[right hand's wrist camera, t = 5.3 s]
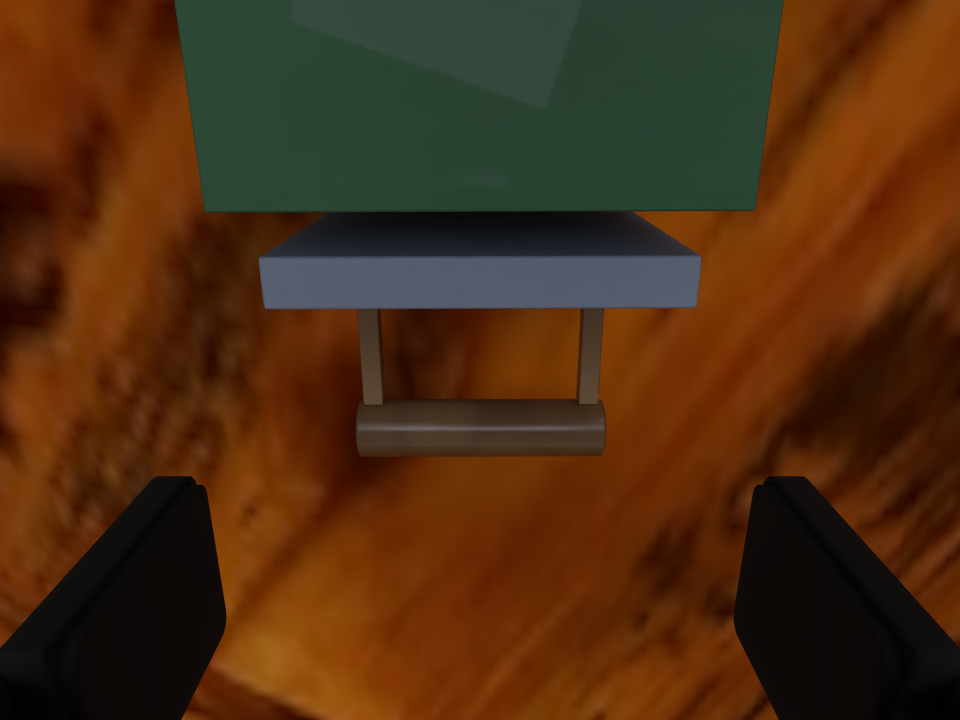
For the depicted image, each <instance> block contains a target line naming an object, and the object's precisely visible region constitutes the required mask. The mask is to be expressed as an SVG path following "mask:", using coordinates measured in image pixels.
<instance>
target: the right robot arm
mask: <svg viewBox="0 0 960 720" xmlns="http://www.w3.org/2000/svg"><path fill="white" fill-rule="evenodd" d="M225 626H226V607H225V601H224V595H223V589H222V583H221V576H220V570H219V564H218V558H217V552H216V546H215V540H214V533H213V527H212V521H211V515H210V509H209V503H208V496H207V492H206V489H205V487H204V486H203V485H197V484H196V482H195V480H194V478H192V477H191V476H159V477H155V478H154V479H152V480H151V481H150V482H149V484H148V485H147V486H146V487H145V488H144V489H143V490H142V491H141V492H140V494H139V495H138V496H137V497H136V498H135V499H134V500H133V501H132V502H131V504H130V505H129V506H128V507H127V508H126V509H125V510H124V511H123V512H122V514H121V515H120V516H119V517H118V518H117V519H116V520H115V521H114V522H113V524H112V525H111V526H110V527H109V528H108V529H107V530H106V531H105V532H104V534H103V535H102V536H101V537H100V538H99V539H98V540H97V541H96V542H95V544H94V545H93V546H92V547H91V548H90V549H89V550H88V551H87V552H86V554H85V555H84V556H83V557H82V558H81V559H80V560H79V561H78V562H77V564H76V565H75V566H74V567H73V568H72V569H71V570H70V571H69V572H68V574H67V575H66V576H65V577H64V578H63V579H62V580H61V581H60V582H59V584H58V585H57V586H56V587H55V588H54V589H53V590H52V591H51V592H50V594H49V595H48V596H47V597H46V598H45V599H44V600H43V601H42V602H41V604H40V605H39V606H38V607H37V608H36V609H35V610H34V611H33V612H32V614H31V615H30V616H29V617H28V618H27V619H26V620H25V621H24V623H23V624H22V625H21V626H20V627H19V628H18V629H17V630H16V631H15V633H14V634H13V635H12V636H11V637H10V638H9V639H8V640H7V641H6V643H5V644H4V645H3V646H2V647H1V648H0V720H181V719H182V717H183V715H184V713H185V711H186V709H187V707H188V705H189V703H190V701H191V699H192V697H193V695H194V693H195V691H196V689H197V687H198V685H199V683H200V681H201V679H202V677H203V675H204V672H205V670H206V668H207V666H208V664H209V662H210V660H211V658H212V656H213V654H214V652H215V650H216V648H217V646H218V644H219V642H220V640H221V638H222V636H223V633H224V630H225ZM734 626H735V630H736V633H737V636H738V638H739V640H740V642H741V644H742V646H743V648H744V650H745V652H746V654H747V656H748V658H749V660H750V662H751V664H752V666H753V668H754V670H755V673H756V675H757V677H758V679H759V681H760V683H761V685H762V687H763V689H764V691H765V693H766V695H767V697H768V699H769V701H770V703H771V705H772V707H773V709H774V711H775V713H776V715H777V717H778V719H779V720H960V648H959V647H958V646H957V645H956V644H955V643H954V641H953V640H952V639H951V638H950V637H949V636H948V635H947V634H946V633H945V631H944V630H943V629H942V628H941V627H940V626H939V625H938V624H937V623H936V621H935V620H934V619H933V618H932V617H931V616H930V615H929V614H928V612H927V611H926V610H925V609H924V608H923V607H922V606H921V605H920V604H919V602H918V601H917V600H916V599H915V598H914V597H913V596H912V595H911V594H910V592H909V591H908V590H907V589H906V588H905V587H904V586H903V585H902V584H901V582H900V581H899V580H898V579H897V578H896V577H895V576H894V575H893V574H892V572H891V571H890V570H889V569H888V568H887V567H886V566H885V565H884V564H883V562H882V561H881V560H880V559H879V558H878V557H877V556H876V555H875V554H874V552H873V551H872V550H871V549H870V548H869V547H868V546H867V545H866V544H865V542H864V541H863V540H862V539H861V538H860V537H859V536H858V535H857V534H856V532H855V531H854V530H853V529H852V528H851V527H850V526H849V525H848V524H847V522H846V521H845V520H844V519H843V518H842V517H841V516H840V515H839V514H838V512H837V511H836V510H835V509H834V508H833V507H832V506H831V505H830V504H829V502H828V501H827V500H826V499H825V498H824V497H823V496H822V495H821V494H820V492H819V491H818V490H817V489H816V488H815V487H814V486H813V485H812V484H811V482H810V481H809V480H808V479H806V478H805V477H801V476H769V477H768V478H766V480H765V482H764V484H763V485H757V486H756V487H755V489H754V492H753V496H752V503H751V509H750V515H749V521H748V527H747V533H746V540H745V546H744V552H743V558H742V564H741V570H740V576H739V583H738V589H737V595H736V601H735V607H734Z"/></svg>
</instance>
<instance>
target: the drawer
mask: <svg viewBox="0 0 960 720" xmlns="http://www.w3.org/2000/svg"><path fill="white" fill-rule="evenodd" d="M701 261H702V258H701V256H700V255H698V254H697V253H695V252H694V251H692V250H691V249H689V248H688V247H686V246H685V245H683V244H681V243H680V242H678V241H677V240H675V239H674V238H672V237H671V236H669V235H668V234H666V233H665V232H663V231H661V230H660V229H658V228H657V227H655V226H654V225H652V224H651V223H649V222H648V221H646V220H645V219H643V218H641V217H640V216H638V215H637V214H635V213H634V212H632V211H545V212H329V213H327V214H326V215H324V216H323V217H321V218H320V219H318V220H316V221H315V222H313V223H312V224H310V225H309V226H307V227H306V228H304V229H303V230H301V231H299V232H298V233H296V234H295V235H293V236H292V237H290V238H289V239H287V240H286V241H284V242H282V243H281V244H279V245H278V246H276V247H275V248H273V249H272V250H270V251H269V252H267V253H265V254H264V255H262V256H261V257H259V268H260V277H261V285H262V293H263V302H264V307H265V308H266V309H357V313H358V327H359V342H360V356H361V370H362V385H363V400H361V401H360V403H359V406H358V410H357V417H356V443H357V449H358V452H359V455H360V456H362V457H425V456H601V455H602V454H603V452H604V449H605V442H606V418H605V410H604V406H603V403H602V401H601V400H600V399H598V394H599V378H600V362H601V347H602V331H603V315H604V308H694V307H696V304H697V296H698V287H699V278H700V270H701ZM541 308H581V314H580V334H579V354H578V374H577V393H576V397H577V399H385V381H384V363H383V346H382V329H381V311H380V309H541Z"/></svg>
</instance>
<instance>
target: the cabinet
mask: <svg viewBox="0 0 960 720" xmlns="http://www.w3.org/2000/svg"><path fill="white" fill-rule="evenodd" d="M174 2H175V8H176V15H177V22H178V29H179V36H180V43H181V50H182V57H183V64H184V71H185V78H186V85H187V92H188V98H189V105H190V112H191V119H192V126H193V133H194V140H195V147H196V154H197V161H198V168H199V175H200V182H201V188H202V195H203V202H204V209H205V212H207V213H244V212H545V211H753V210H755V206H756V199H757V191H758V184H759V177H760V170H761V162H762V155H763V148H764V140H765V133H766V126H767V119H768V111H769V104H770V97H771V89H772V82H773V75H774V68H775V60H776V53H777V46H778V38H779V31H780V24H781V17H782V9H783V2H784V0H174Z"/></svg>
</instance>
